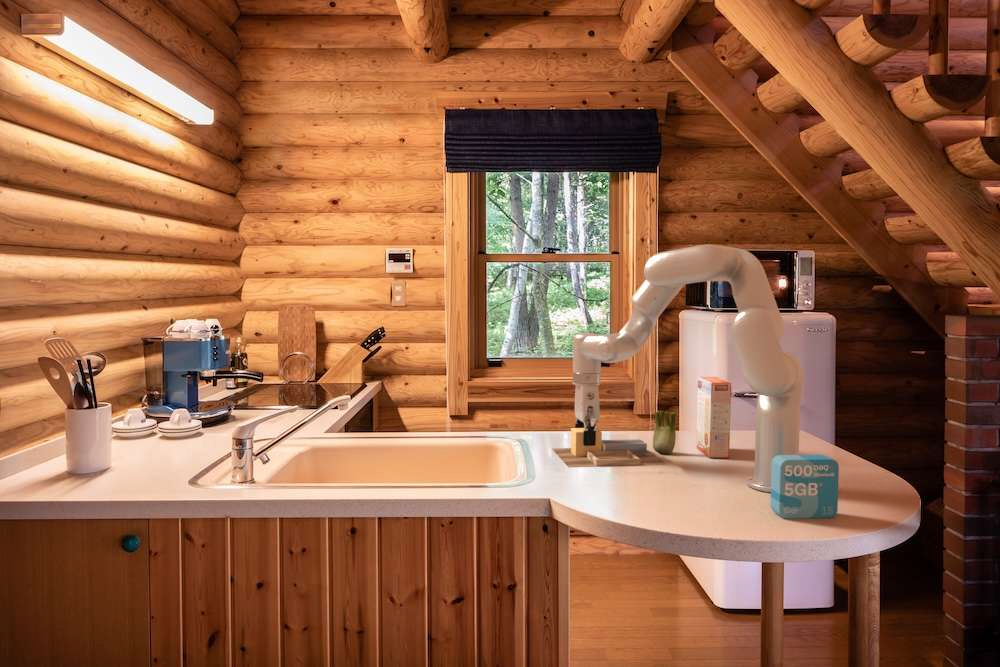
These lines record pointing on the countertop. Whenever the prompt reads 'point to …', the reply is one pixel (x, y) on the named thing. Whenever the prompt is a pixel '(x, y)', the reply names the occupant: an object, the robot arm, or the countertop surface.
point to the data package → (804, 486)
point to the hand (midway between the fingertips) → (585, 441)
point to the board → (612, 455)
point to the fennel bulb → (664, 432)
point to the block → (577, 442)
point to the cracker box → (714, 417)
